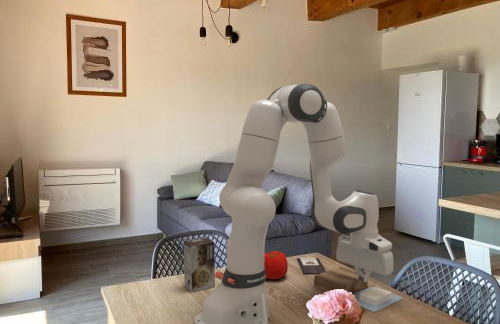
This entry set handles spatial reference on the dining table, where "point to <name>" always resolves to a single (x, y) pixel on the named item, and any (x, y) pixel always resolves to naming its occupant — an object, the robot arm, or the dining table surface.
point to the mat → (378, 307)
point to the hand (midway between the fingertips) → (362, 280)
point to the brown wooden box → (339, 280)
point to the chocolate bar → (311, 266)
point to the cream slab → (375, 296)
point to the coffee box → (199, 264)
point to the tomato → (275, 265)
